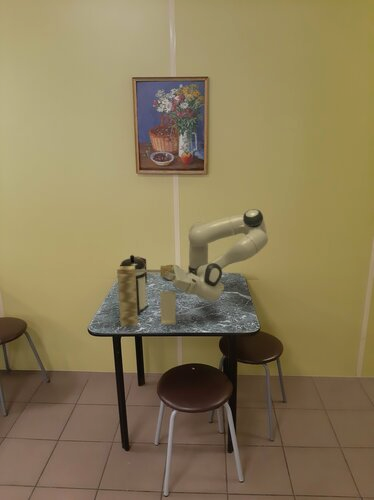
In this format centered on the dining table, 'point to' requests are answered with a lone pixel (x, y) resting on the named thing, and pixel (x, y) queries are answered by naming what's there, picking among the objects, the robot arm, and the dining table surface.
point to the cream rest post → (168, 308)
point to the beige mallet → (163, 269)
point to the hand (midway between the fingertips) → (164, 270)
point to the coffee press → (138, 281)
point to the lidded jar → (169, 277)
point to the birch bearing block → (127, 295)
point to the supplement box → (145, 266)
